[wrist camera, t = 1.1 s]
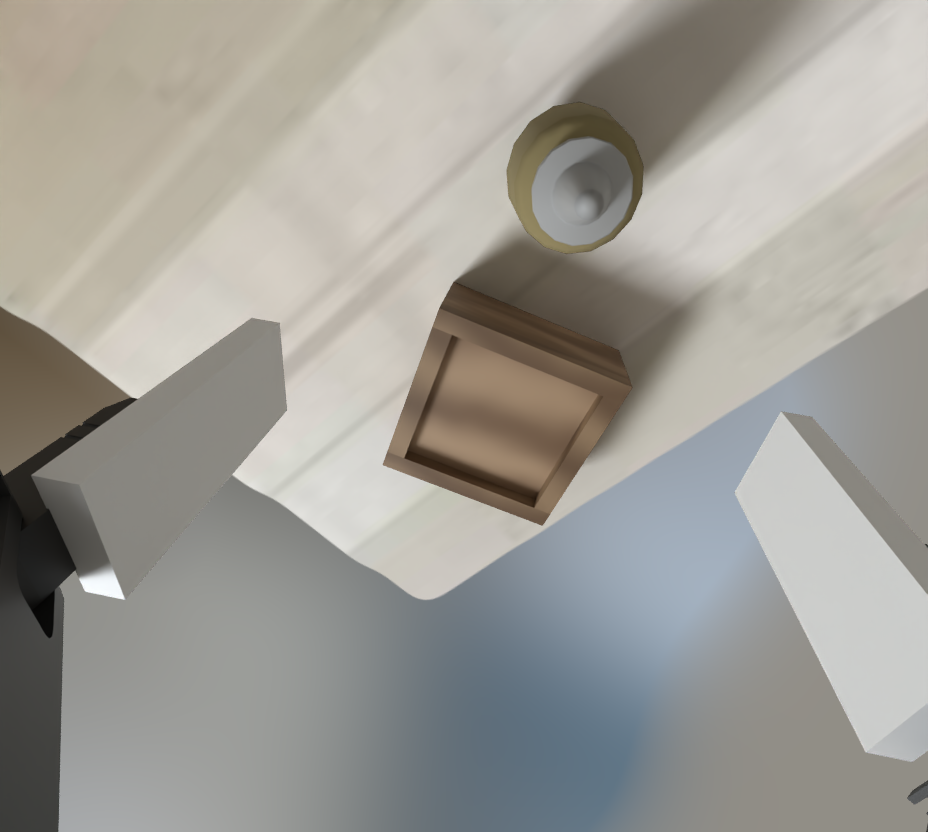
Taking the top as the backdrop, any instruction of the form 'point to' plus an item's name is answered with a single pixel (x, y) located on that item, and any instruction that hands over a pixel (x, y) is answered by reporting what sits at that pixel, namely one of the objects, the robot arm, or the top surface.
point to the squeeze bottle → (574, 178)
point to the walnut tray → (505, 405)
